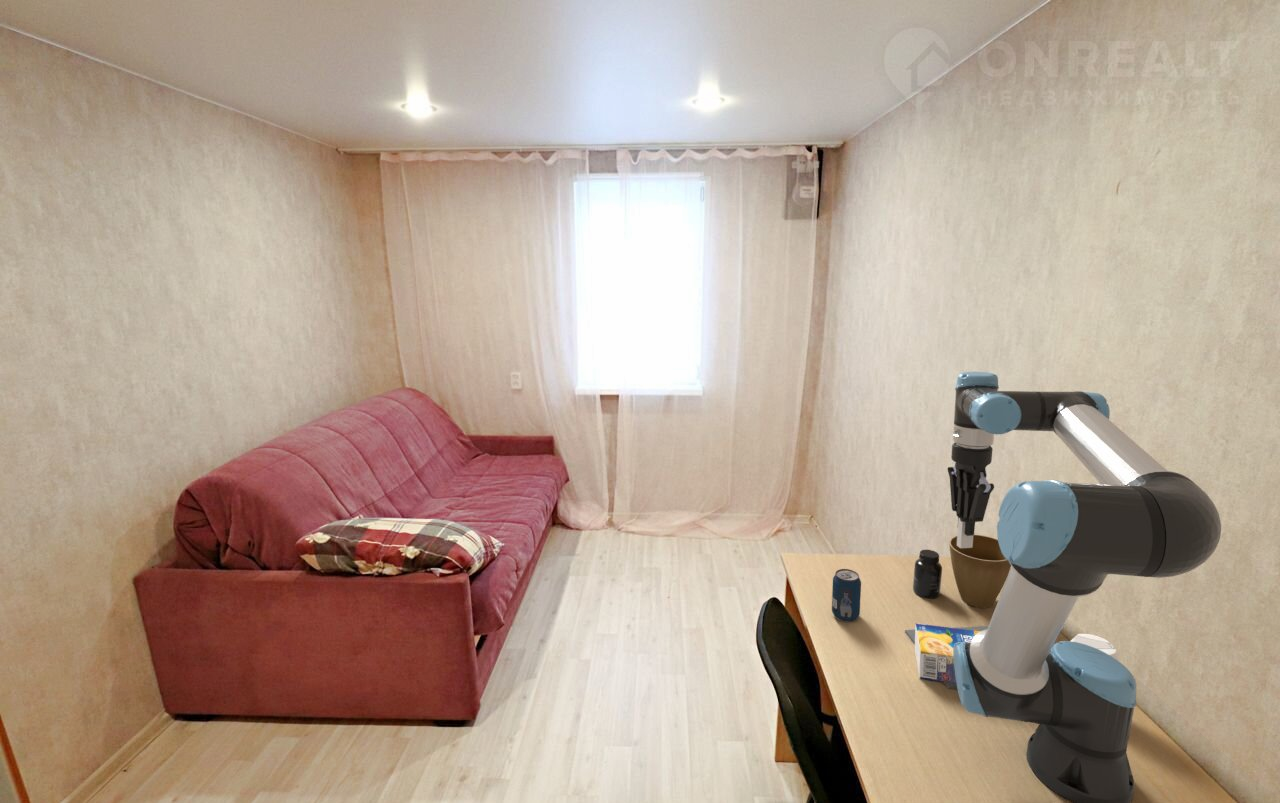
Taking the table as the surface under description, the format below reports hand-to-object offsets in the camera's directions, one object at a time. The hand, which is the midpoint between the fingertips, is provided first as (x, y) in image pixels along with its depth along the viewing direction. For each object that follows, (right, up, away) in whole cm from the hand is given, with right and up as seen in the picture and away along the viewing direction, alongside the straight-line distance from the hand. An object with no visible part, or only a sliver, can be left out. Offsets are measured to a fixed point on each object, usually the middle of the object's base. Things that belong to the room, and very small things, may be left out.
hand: (964, 546), depth 127 cm
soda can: (-18, -24, +23) cm, 38 cm away
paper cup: (+19, -30, -9) cm, 37 cm away
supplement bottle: (+8, -21, +32) cm, 39 cm away
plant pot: (+19, -22, +28) cm, 40 cm away
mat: (+6, -27, +6) cm, 28 cm away
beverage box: (-9, -25, +4) cm, 27 cm away
